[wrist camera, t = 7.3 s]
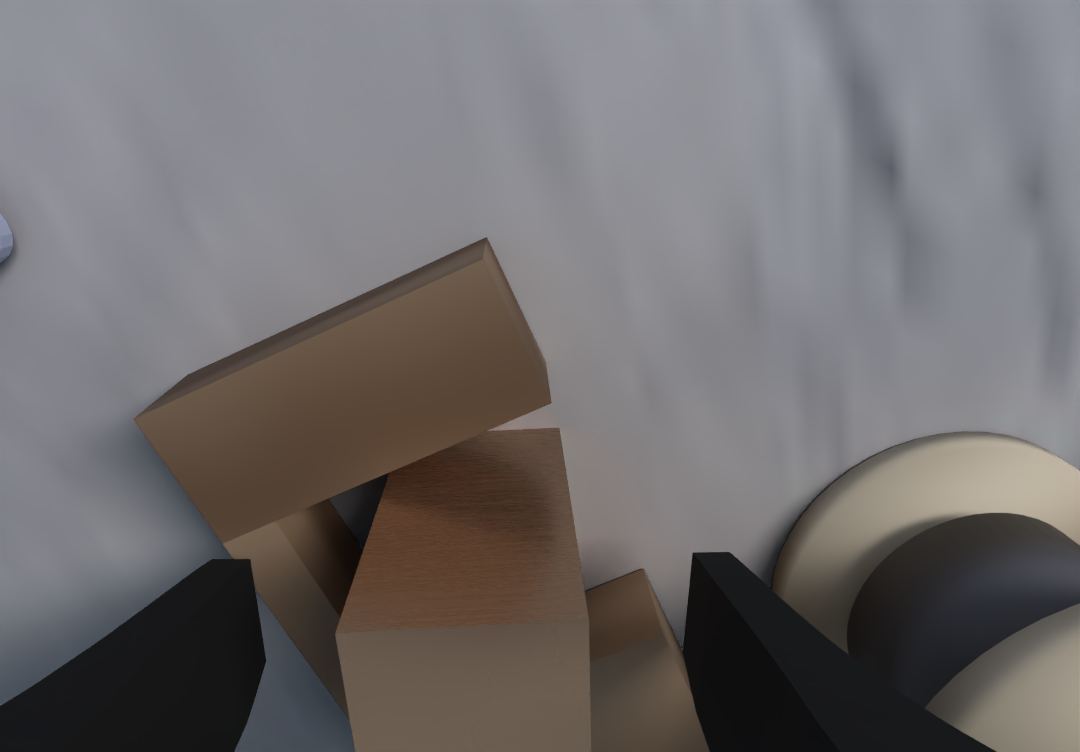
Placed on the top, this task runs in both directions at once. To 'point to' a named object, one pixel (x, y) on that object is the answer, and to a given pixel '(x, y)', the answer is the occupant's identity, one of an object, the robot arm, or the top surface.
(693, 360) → the top surface
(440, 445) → the notched board
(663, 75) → the top surface
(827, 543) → the spool
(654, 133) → the top surface
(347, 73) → the top surface
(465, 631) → the brown wooden block
